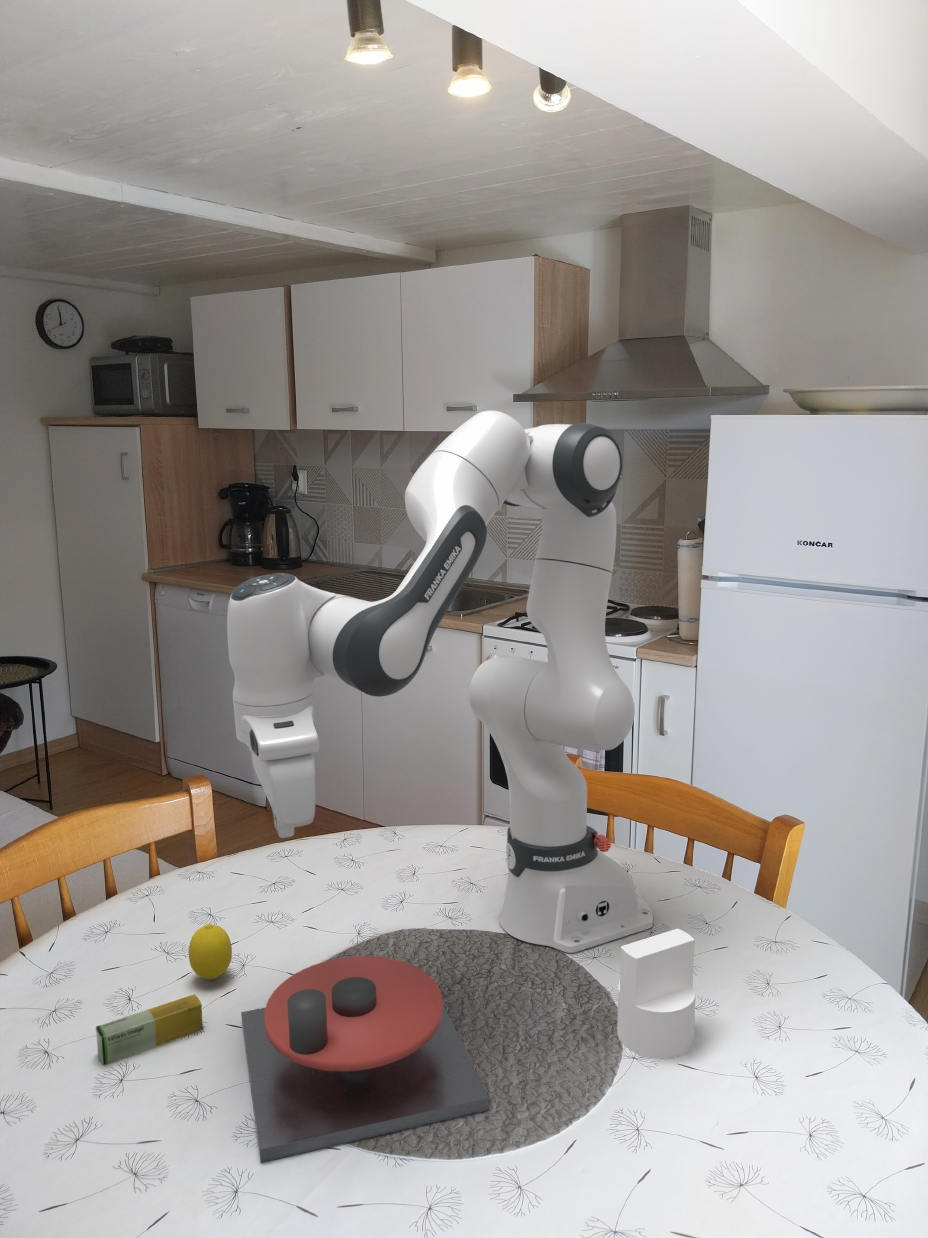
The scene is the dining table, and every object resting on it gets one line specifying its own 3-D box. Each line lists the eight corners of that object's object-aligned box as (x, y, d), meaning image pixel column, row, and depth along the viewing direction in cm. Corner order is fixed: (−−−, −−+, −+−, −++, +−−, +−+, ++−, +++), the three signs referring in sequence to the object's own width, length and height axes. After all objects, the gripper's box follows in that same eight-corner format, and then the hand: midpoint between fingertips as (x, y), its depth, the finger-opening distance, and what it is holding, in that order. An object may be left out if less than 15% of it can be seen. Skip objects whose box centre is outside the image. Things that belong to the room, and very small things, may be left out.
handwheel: (339, 949, 122) (337, 904, 121) (474, 994, 112) (474, 945, 111) (226, 1034, 105) (223, 983, 104) (374, 1095, 95) (372, 1040, 94)
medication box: (102, 1069, 110) (99, 1038, 109) (96, 1056, 112) (93, 1025, 111) (204, 1032, 117) (202, 1002, 116) (197, 1020, 119) (195, 991, 118)
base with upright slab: (648, 1068, 108) (651, 972, 106) (602, 1025, 116) (603, 935, 114) (709, 1044, 112) (713, 951, 110) (661, 1004, 120) (663, 917, 118)
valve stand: (430, 987, 124) (429, 945, 123) (489, 1110, 102) (488, 1059, 101) (241, 1023, 118) (238, 978, 116) (260, 1163, 95) (257, 1109, 94)
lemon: (222, 993, 124) (218, 937, 122) (183, 989, 125) (178, 933, 123) (240, 970, 129) (237, 916, 128) (202, 966, 130) (198, 912, 129)
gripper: (234, 698, 116) (244, 804, 119) (261, 752, 98) (272, 876, 101) (285, 691, 118) (294, 795, 121) (322, 742, 100) (331, 864, 103)
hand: (284, 832), depth 111 cm, fingers closed
